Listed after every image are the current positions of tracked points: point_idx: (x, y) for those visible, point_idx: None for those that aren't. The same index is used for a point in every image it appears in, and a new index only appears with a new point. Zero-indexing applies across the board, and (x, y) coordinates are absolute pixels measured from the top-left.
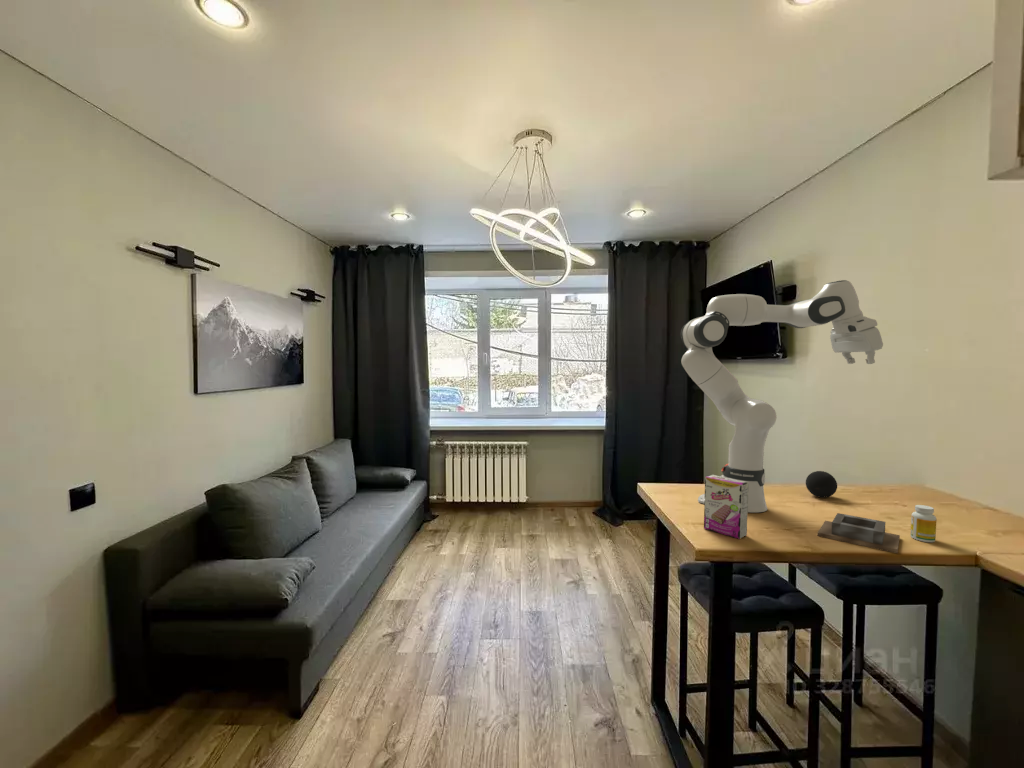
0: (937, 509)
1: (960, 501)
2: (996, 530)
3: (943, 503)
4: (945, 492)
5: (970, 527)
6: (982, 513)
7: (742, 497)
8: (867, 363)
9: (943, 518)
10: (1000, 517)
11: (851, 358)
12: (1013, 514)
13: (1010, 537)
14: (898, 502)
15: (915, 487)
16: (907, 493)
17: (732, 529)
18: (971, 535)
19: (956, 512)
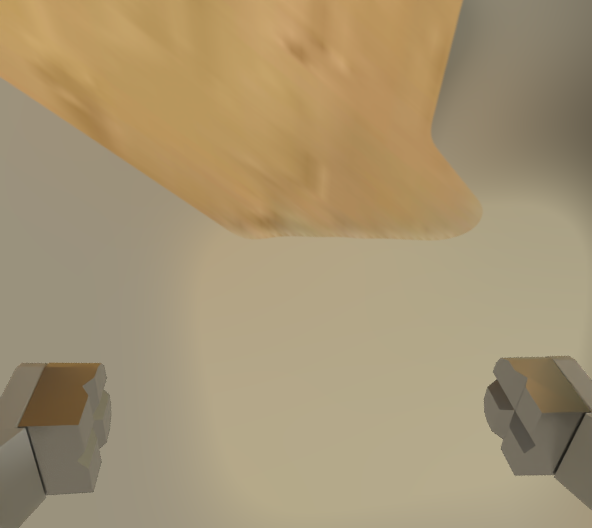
0: (262, 113)
1: (327, 211)
2: (97, 111)
3: (314, 167)
4: (398, 234)
5: (106, 69)
6: (235, 184)
7: None
8: (82, 365)
9: (179, 64)
10: (208, 194)
11: (546, 454)
12: (233, 231)
13: (44, 98)
14: (330, 61)
15: (450, 209)
16: (407, 153)
17: None
18: (25, 12)
19: (238, 137)
